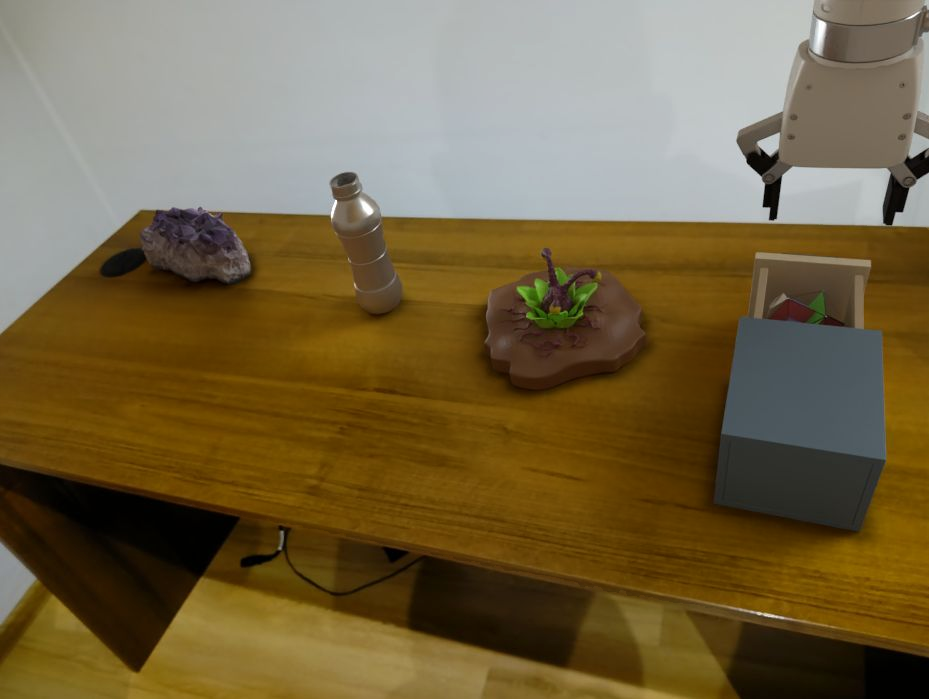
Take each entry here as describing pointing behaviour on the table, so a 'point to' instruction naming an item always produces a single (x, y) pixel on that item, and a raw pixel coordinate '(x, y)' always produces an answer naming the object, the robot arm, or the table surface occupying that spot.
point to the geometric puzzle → (803, 311)
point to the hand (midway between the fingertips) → (828, 214)
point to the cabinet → (803, 422)
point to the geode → (195, 246)
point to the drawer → (810, 284)
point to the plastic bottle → (364, 245)
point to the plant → (562, 326)
